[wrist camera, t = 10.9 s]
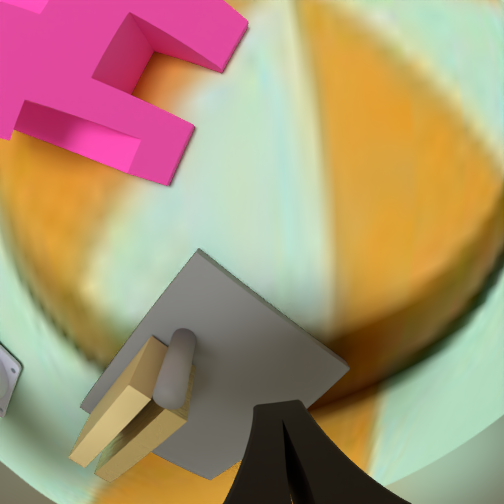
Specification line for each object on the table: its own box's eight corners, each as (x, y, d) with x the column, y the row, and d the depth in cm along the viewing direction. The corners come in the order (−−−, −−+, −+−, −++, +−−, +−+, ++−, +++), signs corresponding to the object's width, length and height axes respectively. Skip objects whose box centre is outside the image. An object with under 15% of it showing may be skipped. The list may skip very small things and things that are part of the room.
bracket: (16, 125, 15) (-101, 110, 5) (85, -8, 13) (15, -87, 3) (169, 185, 16) (84, 195, 6) (247, 27, 14) (264, -97, 4)
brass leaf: (179, 355, 17) (165, 408, 12) (195, 366, 17) (187, 421, 13) (112, 427, 18) (94, 473, 14) (126, 435, 19) (110, 482, 14)
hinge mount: (210, 471, 21) (208, 531, 15) (84, 399, 19) (52, 456, 13) (345, 360, 19) (382, 422, 13) (198, 248, 17) (180, 286, 11)
